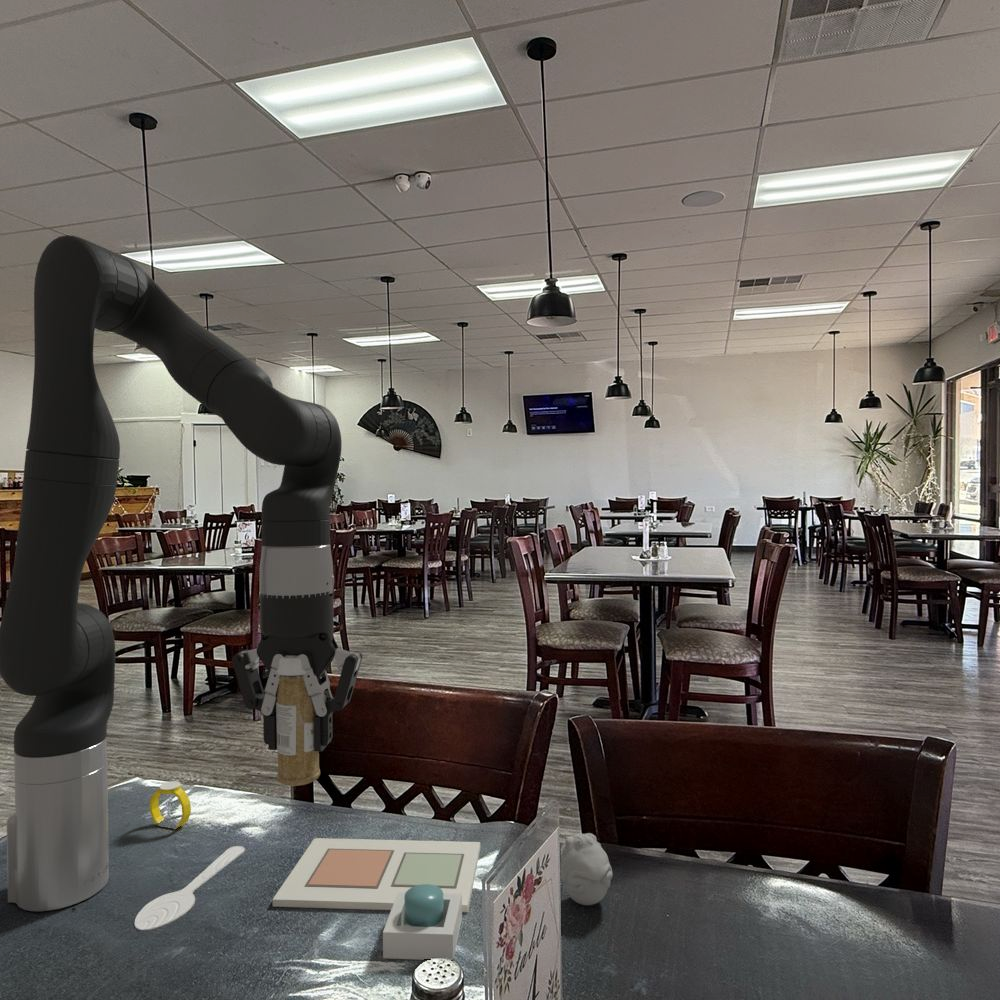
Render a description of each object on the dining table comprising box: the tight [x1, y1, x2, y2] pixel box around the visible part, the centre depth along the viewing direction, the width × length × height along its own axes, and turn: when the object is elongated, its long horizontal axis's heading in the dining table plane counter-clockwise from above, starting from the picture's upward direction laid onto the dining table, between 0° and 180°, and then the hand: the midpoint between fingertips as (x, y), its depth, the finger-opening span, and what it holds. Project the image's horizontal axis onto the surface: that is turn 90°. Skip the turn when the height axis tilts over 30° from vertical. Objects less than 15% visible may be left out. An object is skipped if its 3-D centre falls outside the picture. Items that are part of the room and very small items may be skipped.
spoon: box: [134, 845, 246, 931], centre depth 83 cm, size 5×18×1 cm, turn 167°
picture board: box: [272, 837, 481, 913], centre depth 84 cm, size 22×14×1 cm, turn 86°
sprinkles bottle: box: [276, 655, 321, 787], centre depth 74 cm, size 5×5×14 cm
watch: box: [149, 780, 192, 829], centre depth 98 cm, size 6×3×6 cm, turn 72°
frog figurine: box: [560, 832, 614, 906], centre depth 79 cm, size 6×7×7 cm
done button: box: [404, 884, 443, 927], centre depth 72 cm, size 4×4×2 cm
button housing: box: [382, 892, 463, 961], centre depth 72 cm, size 7×7×3 cm
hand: (298, 747), depth 74 cm, fingers closed on sprinkles bottle, 4 cm apart
